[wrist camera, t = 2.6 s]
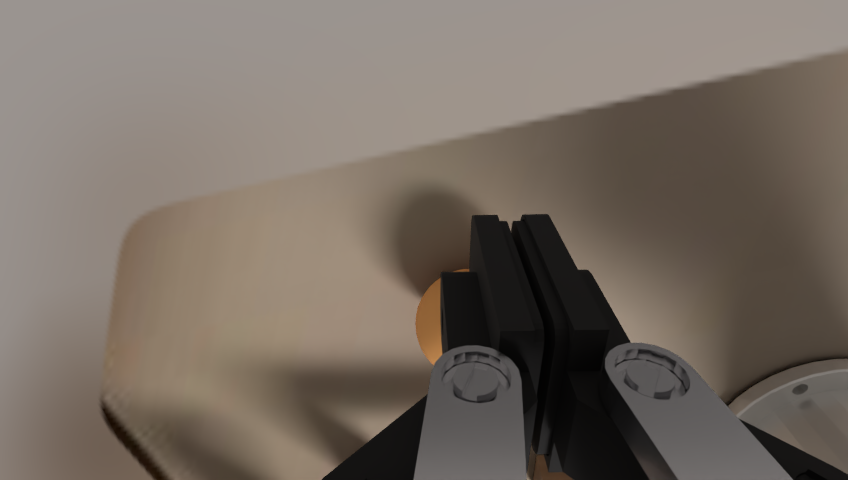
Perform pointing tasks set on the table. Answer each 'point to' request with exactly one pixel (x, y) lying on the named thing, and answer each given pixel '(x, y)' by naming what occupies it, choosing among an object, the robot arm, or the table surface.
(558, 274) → the robot arm
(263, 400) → the table surface
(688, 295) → the table surface
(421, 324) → the ball
